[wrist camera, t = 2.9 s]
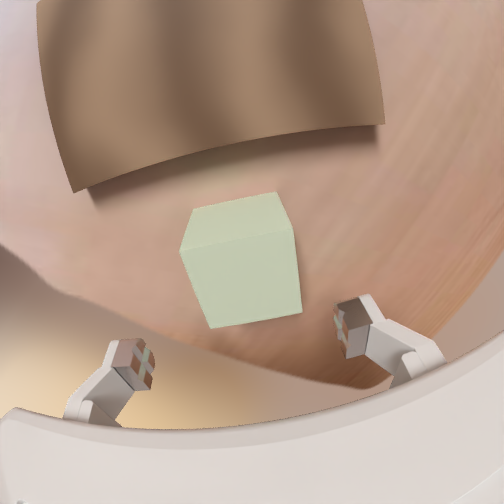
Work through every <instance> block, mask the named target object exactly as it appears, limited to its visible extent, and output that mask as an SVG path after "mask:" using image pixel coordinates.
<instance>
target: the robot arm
mask: <svg viewBox="0 0 504 504" xmlns="http://www.w3.org/2000/svg"><path fill="white" fill-rule="evenodd" d="M333 310H334V312H335V316H334V318H333V324H334V330H335V333H336V336H337V339H339V340H340V341H341V349H342V351H343V354H344V356H345V359H348V358H352V357H356V356H360V355H363V354H365V355H366V356H367V357H369V358H370V359H371V360H373V361H374V362H375V363H377V364H378V365H379V366H381V367H382V368H383V369H385V370H386V371H388V372H389V373H390V374H392V375H393V376H394V379H393V381H392V383H391V386H390V388H389V390H386V391H383V392H380V393H378V394H375V395H372V396H369V397H366V398H363V399H360V400H357V401H354V402H350V403H347V404H344V405H340V406H337V407H333V408H329V409H325V410H321V411H318V412H313V413H309V414H305V415H300V416H295V417H290V418H285V419H280V420H274V421H268V422H262V423H254V424H247V425H239V426H229V427H218V428H203V429H138V428H124V427H122V426H121V425H120V424H119V423H117V422H116V421H115V418H116V417H117V416H118V414H119V413H120V412H121V410H122V409H123V407H124V406H125V405H126V403H127V402H128V400H129V399H130V398H131V396H132V395H133V393H134V391H140V390H150V389H151V384H152V376H151V373H152V372H153V370H154V367H155V360H154V356H153V354H152V352H151V351H150V350H149V349H147V348H146V347H145V345H146V343H145V342H144V340H143V339H141V338H136V339H121V340H112V341H111V342H110V344H109V347H108V350H107V353H106V355H105V358H104V361H103V364H102V367H101V368H98V369H97V370H96V371H95V372H94V373H93V374H92V375H91V376H90V377H89V378H88V379H87V380H86V381H85V382H84V383H83V384H82V385H81V386H80V387H79V388H78V389H77V390H76V391H75V392H74V393H73V394H72V395H71V396H70V397H69V399H68V402H67V406H66V409H65V412H64V415H63V419H61V418H57V417H52V416H48V415H44V414H40V413H36V412H32V411H28V410H25V409H22V408H18V407H15V408H13V409H12V410H10V411H9V412H8V413H7V414H6V415H5V416H4V417H3V418H1V419H0V504H504V330H503V331H501V332H499V333H498V334H497V335H495V336H494V337H492V338H490V339H489V340H487V341H486V342H484V343H482V344H481V345H479V346H477V347H476V348H474V349H472V350H471V351H469V352H467V353H465V354H464V355H462V356H460V357H459V358H456V359H455V360H453V361H451V362H449V363H447V361H446V360H445V358H444V357H443V355H442V353H441V352H440V350H439V349H438V347H437V345H436V344H435V342H434V341H433V340H431V339H429V338H427V337H425V336H423V335H421V334H419V333H417V332H415V331H413V330H410V329H408V328H406V327H404V326H402V325H400V324H398V323H396V322H394V321H392V320H390V319H387V320H386V319H385V318H384V316H383V314H382V313H381V311H380V309H379V308H378V306H377V305H376V303H375V301H374V300H373V298H372V297H371V295H370V294H365V295H361V296H358V297H354V298H351V299H347V300H343V301H340V302H336V303H334V309H333Z"/></svg>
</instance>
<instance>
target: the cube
mask: <svg viewBox="0 0 504 504" xmlns="http://www.w3.org/2000/svg"><path fill="white" fill-rule="evenodd" d="M179 252H180V255H181V258H182V260H183V263H184V266H185V268H186V271H187V273H188V276H189V279H190V281H191V284H192V286H193V289H194V291H195V294H196V296H197V298H198V301H199V303H200V306H201V308H202V310H203V313H204V315H205V317H206V320H207V322H208V324H209V327H210V329H213V328H219V327H226V326H232V325H238V324H244V323H250V322H256V321H261V320H267V319H272V318H277V317H283V316H288V315H293V314H297V313H302V303H301V293H300V284H299V275H298V266H297V257H296V249H295V241H294V234H293V228H292V225H291V223H290V221H289V219H288V216H287V214H286V212H285V209H284V207H283V205H282V203H281V201H280V198H279V196H278V194H277V192H271V193H266V194H261V195H256V196H251V197H246V198H241V199H236V200H231V201H226V202H222V203H217V204H213V205H208V206H204V207H199V208H195V209H193V211H192V214H191V217H190V220H189V223H188V226H187V229H186V232H185V235H184V238H183V241H182V244H181V247H180V250H179Z"/></svg>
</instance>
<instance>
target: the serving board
mask: <svg viewBox="0 0 504 504" xmlns="http://www.w3.org/2000/svg"><path fill="white" fill-rule="evenodd" d="M37 36H38V48H39V58H40V66H41V73H42V80H43V86H44V91H45V96H46V101H47V106H48V111H49V115H50V119H51V123H52V127H53V131H54V135H55V138H56V142H57V146H58V149H59V152H60V156H61V159H62V162H63V165H64V168H65V171H66V174H67V177H68V180H69V183H70V185H71V188H72V191H73V193H76V192H78V191H81V190H83V189H85V188H88V187H90V186H93V185H95V184H98V183H101V182H103V181H106V180H109V179H111V178H114V177H117V176H120V175H123V174H125V173H128V172H131V171H134V170H137V169H140V168H143V167H146V166H150V165H153V164H156V163H159V162H163V161H166V160H170V159H173V158H177V157H180V156H184V155H188V154H191V153H195V152H199V151H203V150H207V149H211V148H215V147H220V146H224V145H229V144H233V143H238V142H243V141H248V140H253V139H259V138H264V137H270V136H276V135H282V134H288V133H295V132H302V131H310V130H318V129H327V128H337V127H349V126H363V125H382V124H385V116H384V106H383V98H382V90H381V83H380V77H379V71H378V65H377V59H376V54H375V49H374V45H373V40H372V36H371V31H370V27H369V23H368V20H367V16H366V12H365V9H364V5H363V2H362V0H41V1H39V2H38V3H37Z"/></svg>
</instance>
